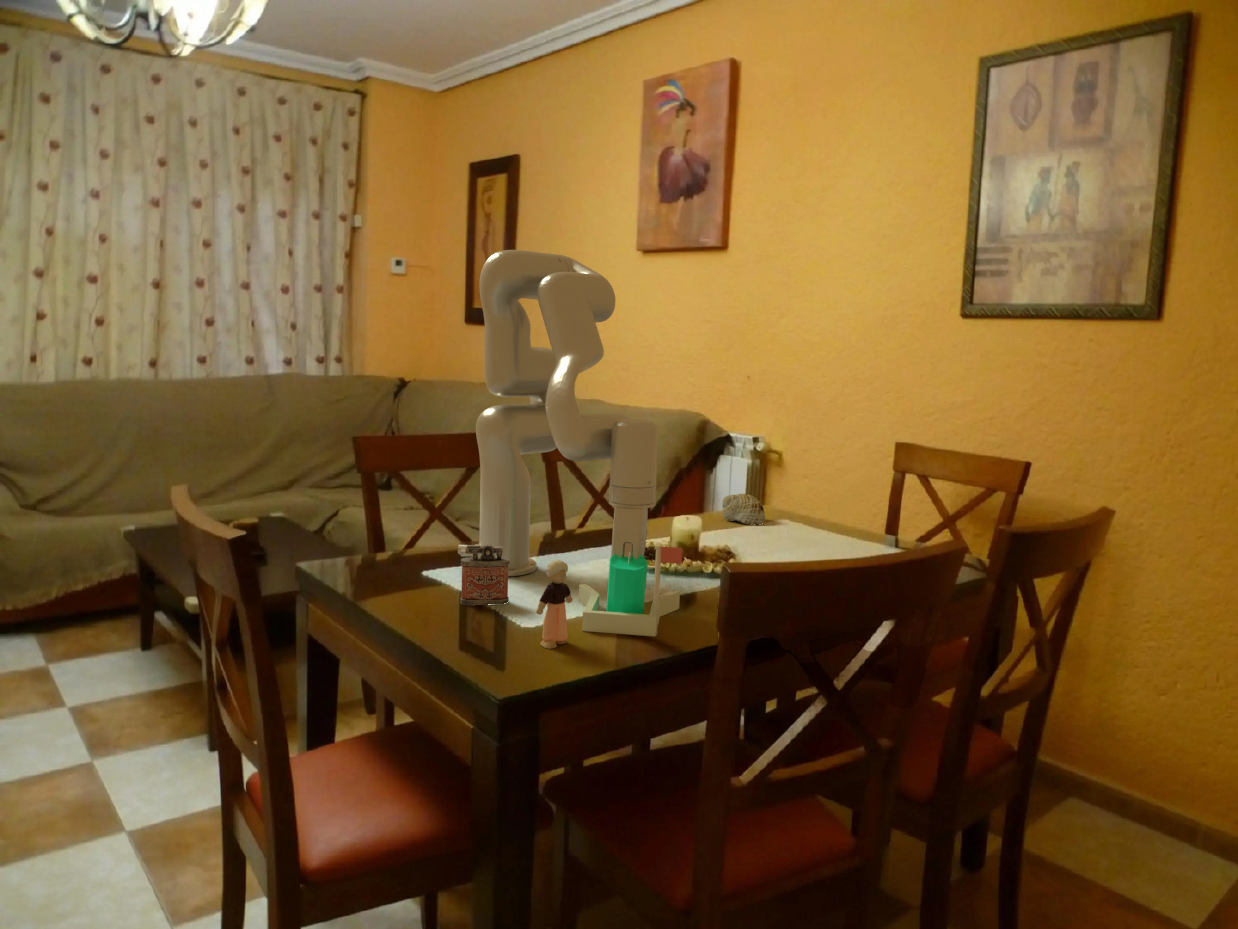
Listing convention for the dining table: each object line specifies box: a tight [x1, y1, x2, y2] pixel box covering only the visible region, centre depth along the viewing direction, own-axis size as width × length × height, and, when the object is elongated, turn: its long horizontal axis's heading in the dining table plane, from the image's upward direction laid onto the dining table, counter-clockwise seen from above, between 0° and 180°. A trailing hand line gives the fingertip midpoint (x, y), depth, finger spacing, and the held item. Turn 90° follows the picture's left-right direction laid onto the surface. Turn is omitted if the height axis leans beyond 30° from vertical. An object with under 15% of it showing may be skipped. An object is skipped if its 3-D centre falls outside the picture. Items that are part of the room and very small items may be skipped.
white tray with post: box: [578, 545, 683, 637], centre depth 146 cm, size 18×16×14 cm
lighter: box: [459, 544, 510, 606], centre depth 152 cm, size 8×3×10 cm, turn 100°
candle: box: [605, 552, 649, 614], centre depth 143 cm, size 6×6×12 cm
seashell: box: [721, 493, 766, 526], centre depth 228 cm, size 10×10×10 cm
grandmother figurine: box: [535, 558, 573, 650], centre depth 134 cm, size 8×4×13 cm, turn 156°
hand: (628, 605), depth 149 cm, fingers closed
